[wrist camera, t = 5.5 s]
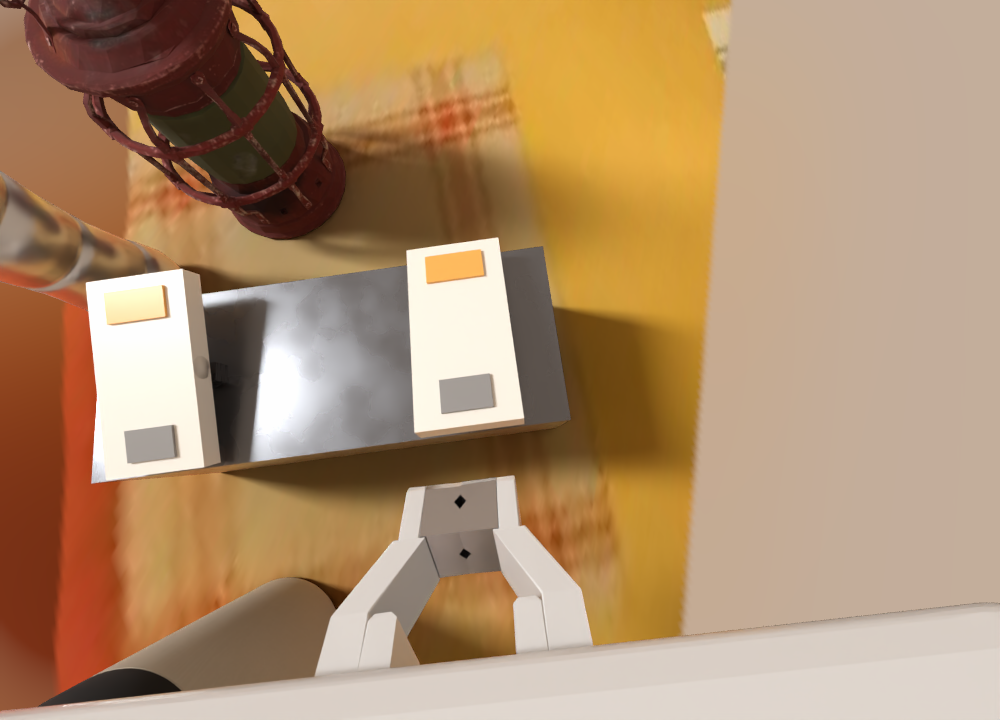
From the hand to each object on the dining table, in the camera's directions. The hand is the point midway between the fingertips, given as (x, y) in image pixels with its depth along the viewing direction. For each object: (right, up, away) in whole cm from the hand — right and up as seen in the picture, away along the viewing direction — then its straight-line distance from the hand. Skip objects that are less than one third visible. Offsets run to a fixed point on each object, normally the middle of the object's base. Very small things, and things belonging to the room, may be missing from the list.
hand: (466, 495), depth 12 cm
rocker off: (-17, +3, +10) cm, 20 cm away
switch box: (-8, +2, +21) cm, 23 cm away
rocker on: (-1, +5, +10) cm, 11 cm away
